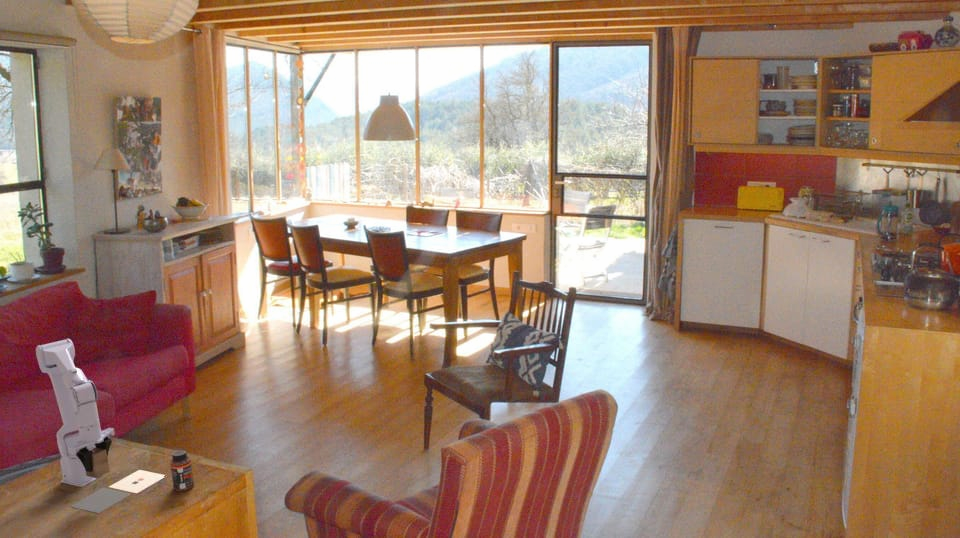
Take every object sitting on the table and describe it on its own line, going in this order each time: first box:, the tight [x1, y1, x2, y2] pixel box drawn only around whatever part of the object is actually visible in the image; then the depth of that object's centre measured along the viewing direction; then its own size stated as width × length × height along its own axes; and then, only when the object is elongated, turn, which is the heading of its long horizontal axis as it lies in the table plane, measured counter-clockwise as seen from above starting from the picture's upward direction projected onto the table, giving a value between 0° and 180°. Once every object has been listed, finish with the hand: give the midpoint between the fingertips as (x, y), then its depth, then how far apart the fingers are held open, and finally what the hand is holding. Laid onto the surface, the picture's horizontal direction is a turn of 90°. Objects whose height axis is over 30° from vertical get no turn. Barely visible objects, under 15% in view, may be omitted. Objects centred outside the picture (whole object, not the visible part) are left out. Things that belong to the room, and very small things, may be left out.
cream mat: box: [108, 469, 166, 494], centre depth 270 cm, size 12×12×1 cm
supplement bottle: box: [169, 449, 195, 492], centre depth 263 cm, size 6×6×11 cm
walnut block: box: [85, 447, 111, 479], centre depth 257 cm, size 4×4×7 cm
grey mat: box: [69, 487, 132, 515], centre depth 259 cm, size 12×12×1 cm
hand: (96, 467), depth 257 cm, fingers closed on walnut block, 4 cm apart
